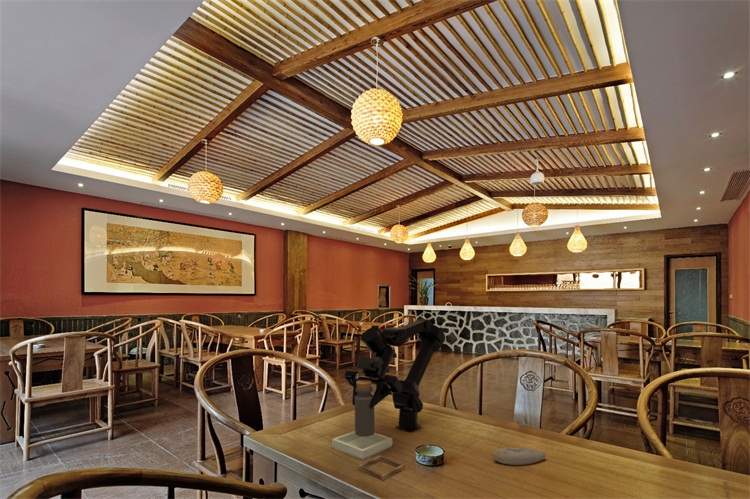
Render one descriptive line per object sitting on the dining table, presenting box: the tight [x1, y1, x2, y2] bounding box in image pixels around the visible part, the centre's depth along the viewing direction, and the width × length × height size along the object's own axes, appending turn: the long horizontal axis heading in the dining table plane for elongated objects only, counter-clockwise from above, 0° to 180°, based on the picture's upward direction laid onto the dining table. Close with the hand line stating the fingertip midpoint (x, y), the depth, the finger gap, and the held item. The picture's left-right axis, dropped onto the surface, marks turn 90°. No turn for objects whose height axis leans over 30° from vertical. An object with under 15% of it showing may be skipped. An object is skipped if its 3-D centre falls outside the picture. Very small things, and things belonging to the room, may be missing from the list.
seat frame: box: [357, 455, 406, 481], centre depth 108 cm, size 9×9×1 cm
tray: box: [331, 430, 393, 461], centre depth 123 cm, size 13×13×2 cm
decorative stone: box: [492, 447, 546, 466], centre depth 114 cm, size 6×16×3 cm, turn 100°
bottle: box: [354, 380, 376, 437], centre depth 121 cm, size 6×6×15 cm
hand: (361, 406), depth 120 cm, fingers closed on bottle, 6 cm apart
